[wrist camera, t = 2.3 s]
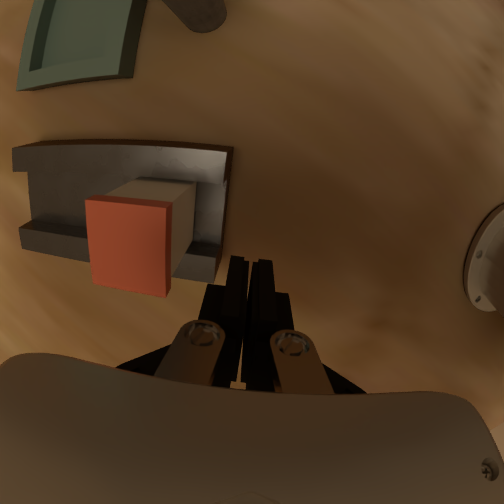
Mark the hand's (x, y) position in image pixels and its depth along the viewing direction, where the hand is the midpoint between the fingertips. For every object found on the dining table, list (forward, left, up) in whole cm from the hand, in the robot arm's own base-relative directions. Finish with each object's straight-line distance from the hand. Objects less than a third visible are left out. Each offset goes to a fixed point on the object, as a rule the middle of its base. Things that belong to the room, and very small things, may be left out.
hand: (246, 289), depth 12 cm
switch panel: (+11, 0, -11) cm, 16 cm away
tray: (+16, -21, -11) cm, 29 cm away
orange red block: (+6, 0, -9) cm, 11 cm away
